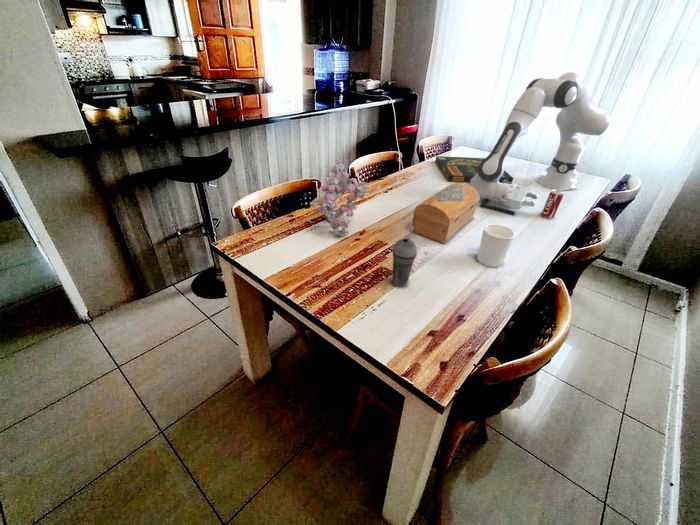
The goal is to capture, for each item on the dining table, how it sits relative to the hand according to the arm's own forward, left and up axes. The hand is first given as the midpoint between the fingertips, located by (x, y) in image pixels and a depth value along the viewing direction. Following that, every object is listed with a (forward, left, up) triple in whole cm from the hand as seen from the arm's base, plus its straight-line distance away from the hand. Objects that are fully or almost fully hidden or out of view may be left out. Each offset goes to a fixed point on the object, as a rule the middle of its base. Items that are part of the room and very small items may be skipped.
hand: (535, 200), depth 147 cm
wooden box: (+36, -30, -6) cm, 48 cm away
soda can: (0, +7, -6) cm, 9 cm away
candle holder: (+53, -7, -6) cm, 54 cm away
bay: (0, -14, -6) cm, 15 cm away
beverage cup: (+83, -28, -6) cm, 88 cm away
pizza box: (-39, -38, -6) cm, 55 cm away
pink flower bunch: (+65, -63, -6) cm, 91 cm away
